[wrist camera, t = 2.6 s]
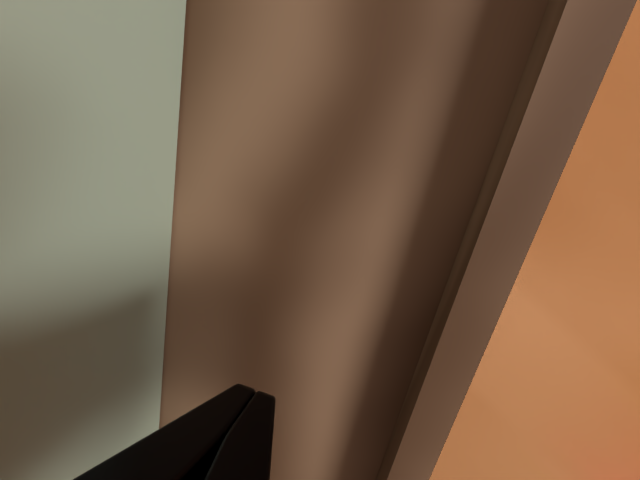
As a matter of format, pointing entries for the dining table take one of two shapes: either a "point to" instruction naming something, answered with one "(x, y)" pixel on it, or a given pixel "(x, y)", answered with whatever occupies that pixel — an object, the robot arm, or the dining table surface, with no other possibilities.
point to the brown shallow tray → (364, 208)
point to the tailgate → (84, 226)
